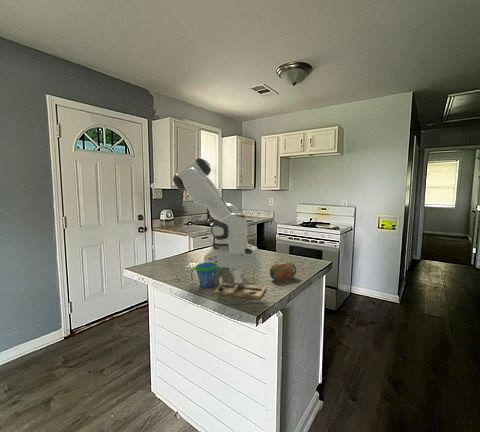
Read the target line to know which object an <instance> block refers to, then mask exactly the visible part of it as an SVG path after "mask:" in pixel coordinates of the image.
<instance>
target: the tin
mask: <svg viewBox="0 0 480 432" xmlns="http://www.w3.org/2000/svg"><path fill="white" fill-rule="evenodd" d="M296 274H297V268H296V265H295V264H294V263H292V262H281V263H276V264H275V263H274V264H273V265H272V266H271V267H270V269H269V276H270V278H271V279H272V280H274V281H276V282H279V281H284V280H290V279H293V278H294V277H295V276H296Z"/></svg>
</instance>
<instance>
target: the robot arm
mask: <svg viewBox="0 0 480 432" xmlns="http://www.w3.org/2000/svg"><path fill="white" fill-rule="evenodd" d="M211 171H212V168H211V165H210V163H209V161H208V160H207V159H206V158H204V157H197V158H196V159H195V160H193V161H191V162H190V163H188V164H186V165H185V166H184V168H182V169H181V170H179V172H178V173H175V174H174V176H173V178H172V182H173V184H174V187H176V188H177V189H178V190H180V192H181V191H182V192H187V195H188V196H189V198H190V199H191V200H192V201H193V202H194V203H195V204H197V205H201V206H205V207H207V209H208V211H209V212H208V213H209V215H210V217H212V218H213V219H215V221H213V223H212V224H211V227H210V231H211V235H212V236H213V238H214V242H213V243H212V244H211V247H212V248H211V249H210V250H209V251H207V253H205V254H204V257H203V260H202V261H201V262H200V263H199V264H201V263H216V264H217V265H218V268H217V269H221V268H222V269H223V268H227V269H228V271H229V272H230V273H231V277H232V278H234V270H235V269H236V268H237V269H242V274H241V278H243V279H245V278H246V273H247V271H248V270H251V271H258V270H259V269H260V268H261V259H260V255H259V253H258V247H257V246H255V245H252V244H250V243H248V221H247V217H246V215H245V214H243V213H241V212H240V211H239V208H238V206H236V205H235V204H233V203H228V202H225V201H224V200H223V198H222V197H221V192H220V191H219V189H218V188H217V186H216V185H215V184H214V182H213V181H212V179H210V178H209V176H210V174H211ZM219 267H221V268H219Z"/></svg>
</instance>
